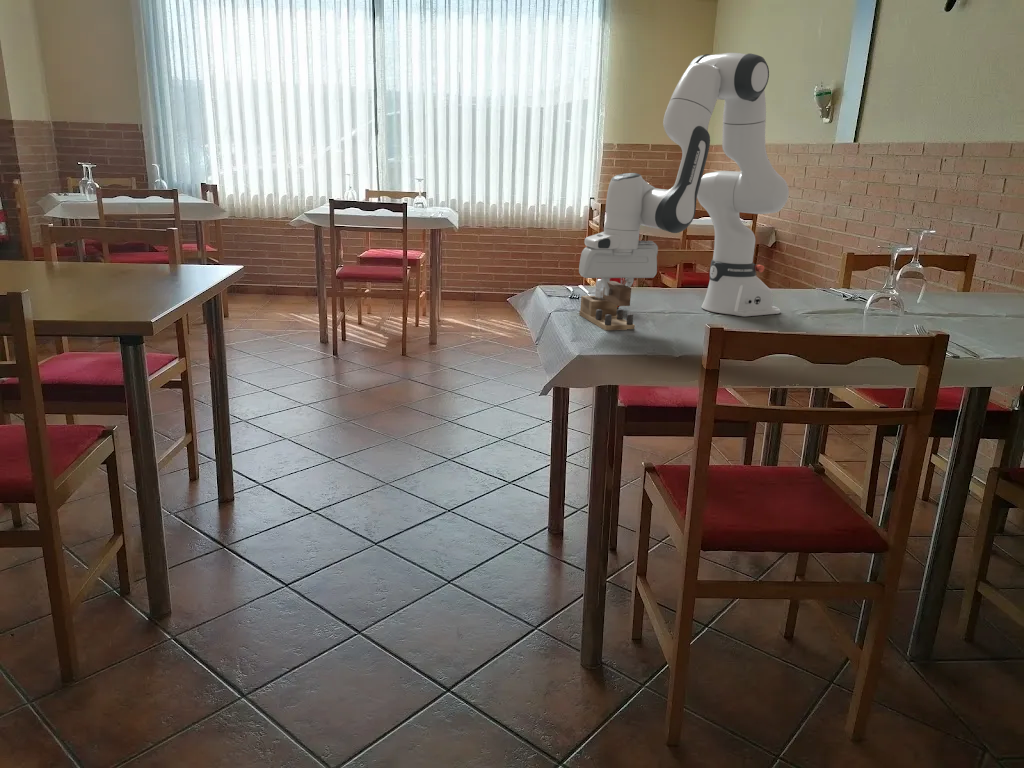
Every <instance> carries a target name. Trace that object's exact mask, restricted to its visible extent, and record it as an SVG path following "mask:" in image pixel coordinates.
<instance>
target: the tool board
mask: <svg viewBox="0 0 1024 768" xmlns="http://www.w3.org/2000/svg"><path fill="white" fill-rule="evenodd" d="M580 299H581V300H580V310H579V313H578V315H579V316H581V317H582V318H584V319H586V320H587V321H589V322H591V323H592V324H594V325H595V326H597V327H599V328H601V329H602V330H604V331H628V330H627V329H634V330H635V328H636V327H635V325H636V324H634V314H633V313H627V314H626V319H624V309H623V308H617V305H615V304H613V303H611V302H609V301H607V300H595V295H581V296H580Z"/></svg>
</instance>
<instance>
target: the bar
mask: <svg viewBox="0 0 1024 768" xmlns="http://www.w3.org/2000/svg"><path fill="white" fill-rule="evenodd" d="M607 283H608V286H609V288H612V289H613V292H612V296H606V295H605V294H604V291H605V288H604V291H603V299H605V300H607V301H609V302H611V303H613V304H615V305H618V306H620V307H630V306H631V297H632V287H628V286H625V284H621V283H618V282H616V281H609V282H607Z"/></svg>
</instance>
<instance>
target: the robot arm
mask: <svg viewBox="0 0 1024 768" xmlns="http://www.w3.org/2000/svg"><path fill="white" fill-rule="evenodd" d="M766 61H767V60H766V59H765V58H764V57H763V56H760V55H758V54H755V53H747V54H746V53H740V52H725V53H716V54H708V53H706V54H701V55H698V56H696V57H695V58H693V59H692V61H691V62H690V63H689V64H688V67H687V68H686V69H685V71H684V72H683V74H682V75H681V77H680V79H679V81H678V82H677V84H676V86H675V88H674V90H673V92H672V93H671V96H670V99H669V102H668V103H667V107H666V110H665V112H664V116H663V120H662V121H663V122H662V125H663V126H662V127H663V129H664V132H665V134H666V135H667V137H668V138H669V139H670V141H672V142H674V143H675V144H676V145H678V146H679V147H680V149H681V155H682V156H681V160H680V164H679V167H678V171H677V176H676V178H675V182H674V184H673V186H671V188H669V189H664V188H658V187H655V186H654V185H652V184H650V183H649V182H648V181H645V179H644V178H643V176H642V175H641V174H640V173H637V172H629V173H628V172H627V173H626V172H625V173H618V174H616V175H614V176H613V177H611V179H610V181H609V183H608V188H607V192H606V200H605V214H606V219H605V224H604V225H603V231H601V232H598V233H595V234H592V235H589V236H587V237H585V238H584V240H583V241H584V245H585V246H586V247H584V248H583V249H582V251H581V252H580V253H581V254H580V258H579V259H580V260H579V265H578V266H579V267H578V273H579V274H580V276H581V277H582V278H585V279H598V278H601V282H602V284H603V286H604V288H605V291H604V294H605V295H606V296H612V292H613V289H612V288H609V286H608V283H607V282H609V281H610V278H623V279H624V281H625V284H624V285H625V286H628V287H630V288H632V287H631V286H633V284H634V281H635V279H650V278H651V279H653V278H655V276H656V275H657V271H658V259H657V256H658V252H659V246H658V245H657V243H656V242H654V241H653V240H639V239H640V231H641V226H644V227H648V228H652V229H653V228H654V229H659V230H662V231H666V232H668V233H672V234H678V233H679V234H680V233H681V232H683V231H684V230H686V229H687V228H688V227H689V226H690V225H691V223H692V222H693V220H694V218H695V214H696V209H697V202H698V203H699V204H700V206H701V207H703V208H704V210H705V211H706V212H707V214H708V215H709V217H710V218H711V219H710V220H711V221H712V224H713V229H714V243H713V245H714V246H713V247H714V248H713V254H712V255H713V256H712V259H711V261H710V268H709V282H708V286H707V290H706V294H705V296H704V300H703V302H702V305H701V308H702V309H703V310H705V311H708V312H713V313H719V314H725V315H733V316H738V317H751V316H752V317H753V316H763V315H765V316H766V315H775V314H777V315H778V314H780V313H781V310H780V308H779V307H777V306H775V305H774V295H773V291H772V289H771V288H770V287H768V286H767V285H766V284H765V282H763V281H762V280H761V279H760V278H759V277H758V276H757V272H759V273H763V272H764V271H765V266H764V265H762V264H757V265H756V264H755V263H754V262H753V261H754V254H755V247H756V235H755V233H754V231H753V230H752V229H751V228H749V227H747V226H746V225H745V224H743V222H742V219H741V217H740V213H743V214H744V213H746V214H753V215H766V214H775V213H778V212H780V211H781V210H782V209H783V208H784V207H785V206H786V204H787V202H788V199H789V195H790V191H789V190H790V189H789V185H788V183H787V180H786V179H784V177H783V176H782V175H780V173H778V172H777V171H776V170H775V168H774V167H773V165H772V163H771V161H770V159H769V157H768V154H767V149H766V123H767V122H766V121H767V120H766V119H767V104H766V101H767V100H766V92H765V89H766V87H767V85H768V82H769V78H770V70H769V69H770V68H769V65H768V63H767V62H766ZM718 100H722V101H723V100H724V104H723V105H724V106H723V113H722V144H721V145H722V151H723V154H725V156H726V157H727V158H729V159H731V160H732V161H734V162H735V164H736V165H737V167H739V171H733V170H732V171H731V170H718V171H711V172H707V173H706V172H705V174H704V171H705V166H706V164H707V163H706V162H707V159H708V156H709V151H710V145H711V136H710V133H709V131H708V129H709V125H710V120H711V118H712V115H713V112H714V109H715V107H716V103H717V101H718Z"/></svg>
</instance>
